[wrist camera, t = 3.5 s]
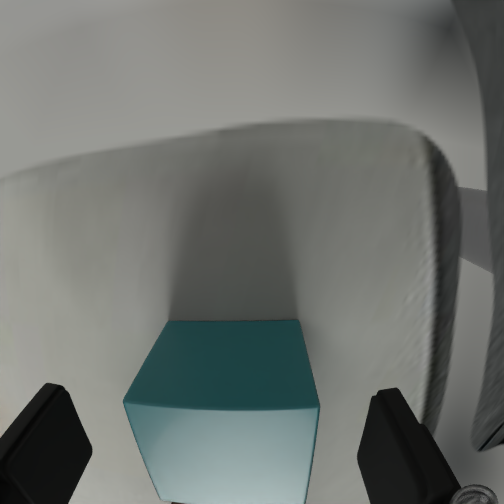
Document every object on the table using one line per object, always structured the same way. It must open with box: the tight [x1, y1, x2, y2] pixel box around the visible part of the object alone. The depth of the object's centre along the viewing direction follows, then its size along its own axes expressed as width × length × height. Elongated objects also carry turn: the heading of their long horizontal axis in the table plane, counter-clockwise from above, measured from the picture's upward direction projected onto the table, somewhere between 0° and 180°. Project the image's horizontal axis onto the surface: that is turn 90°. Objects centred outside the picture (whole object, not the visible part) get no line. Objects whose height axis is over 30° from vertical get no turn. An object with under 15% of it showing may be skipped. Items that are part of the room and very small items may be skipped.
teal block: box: [123, 320, 320, 504], centre depth 9 cm, size 5×5×5 cm
